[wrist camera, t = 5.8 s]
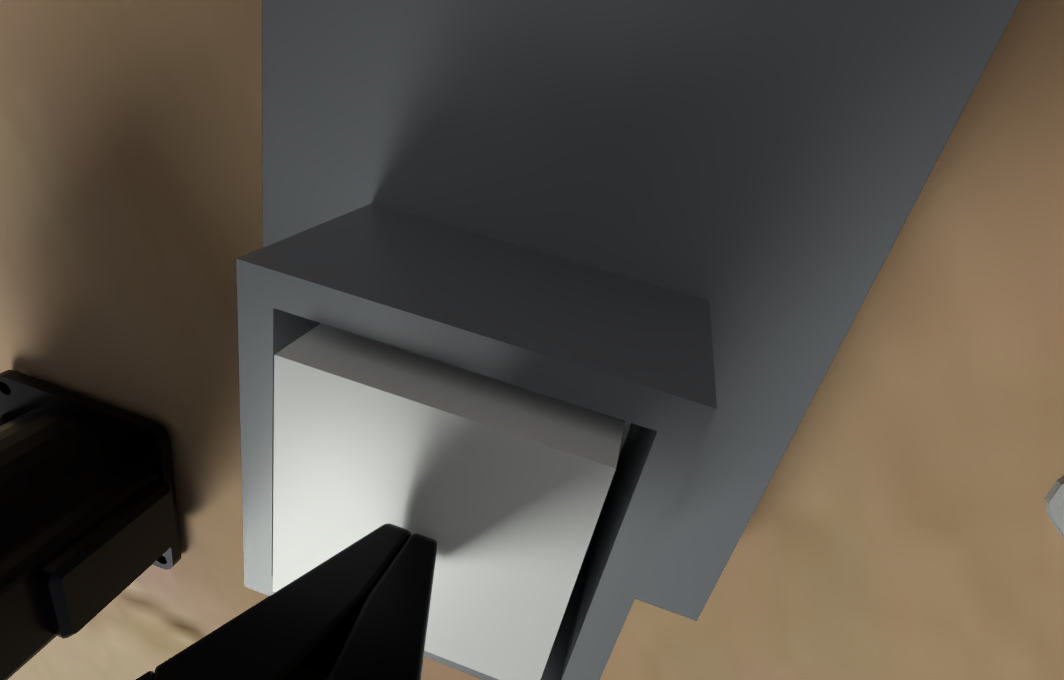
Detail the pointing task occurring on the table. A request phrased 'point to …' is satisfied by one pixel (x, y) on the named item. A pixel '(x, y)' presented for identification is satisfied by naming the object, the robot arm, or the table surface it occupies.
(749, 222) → the key panel
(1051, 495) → the emergency button
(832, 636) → the table surface
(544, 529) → the key white
